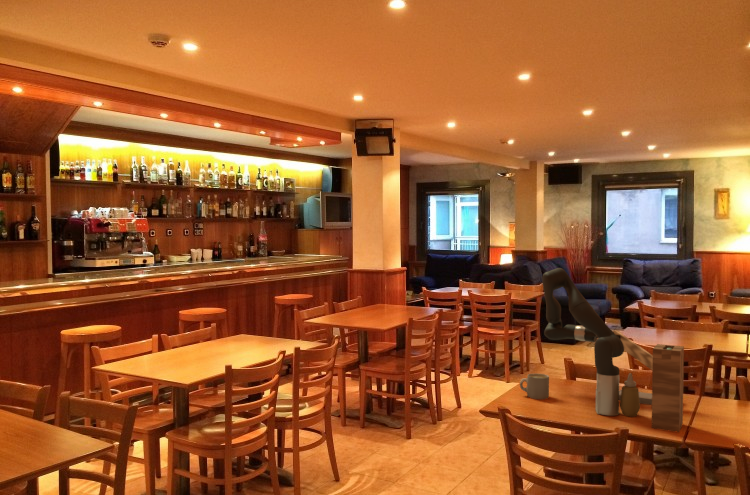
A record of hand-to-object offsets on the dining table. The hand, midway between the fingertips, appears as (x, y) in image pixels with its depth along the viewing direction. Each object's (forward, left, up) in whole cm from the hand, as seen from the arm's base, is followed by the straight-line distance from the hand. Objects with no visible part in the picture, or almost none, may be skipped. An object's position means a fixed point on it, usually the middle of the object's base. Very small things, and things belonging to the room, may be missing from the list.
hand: (621, 337), depth 297 cm
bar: (+4, -3, -7) cm, 9 cm away
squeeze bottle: (-1, -28, -29) cm, 40 cm away
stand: (+11, -41, -29) cm, 51 cm away
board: (+11, -3, -29) cm, 31 cm away
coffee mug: (-40, -5, -29) cm, 50 cm away
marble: (+12, -38, 0) cm, 40 cm away
